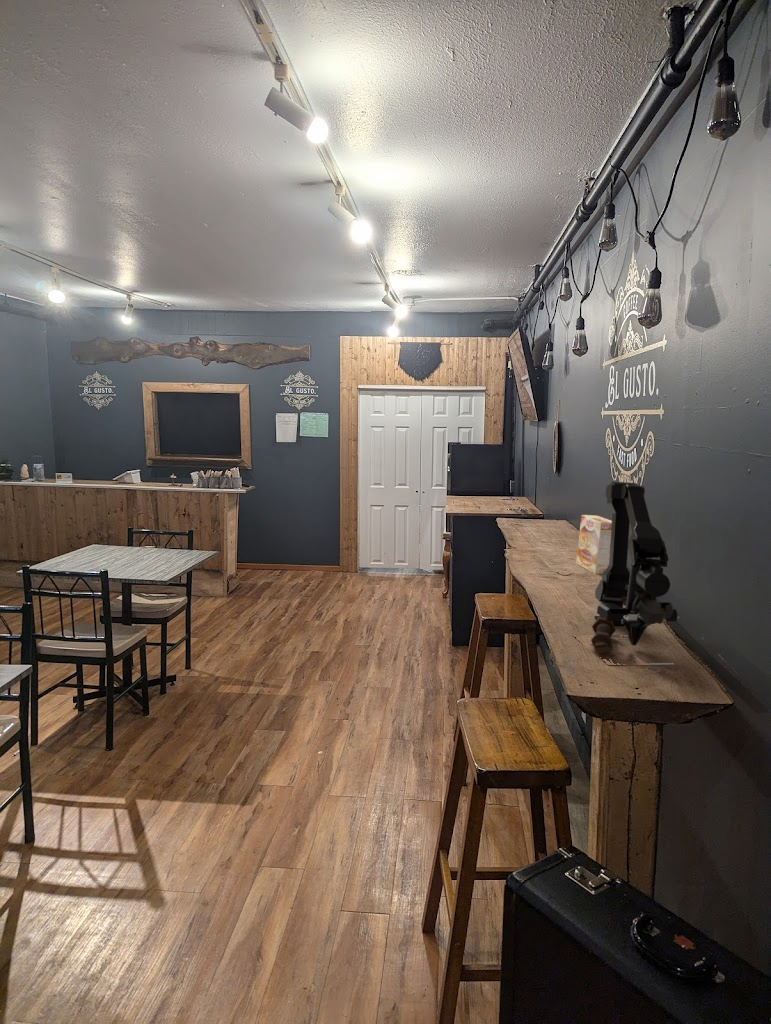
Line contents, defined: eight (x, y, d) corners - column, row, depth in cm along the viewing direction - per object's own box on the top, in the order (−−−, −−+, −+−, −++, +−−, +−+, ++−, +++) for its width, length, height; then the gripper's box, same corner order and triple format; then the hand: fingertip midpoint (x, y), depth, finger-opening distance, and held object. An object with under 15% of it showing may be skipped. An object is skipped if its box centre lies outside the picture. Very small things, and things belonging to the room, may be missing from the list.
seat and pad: (571, 635, 163) (571, 635, 163) (631, 635, 166) (631, 635, 166) (608, 665, 145) (608, 665, 145) (674, 664, 148) (674, 664, 148)
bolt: (595, 662, 151) (599, 639, 164) (616, 656, 149) (618, 634, 162) (585, 640, 151) (590, 619, 164) (606, 633, 149) (608, 613, 162)
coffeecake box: (575, 563, 243) (580, 514, 240) (592, 563, 245) (597, 515, 241) (594, 574, 229) (600, 522, 225) (612, 574, 230) (618, 522, 227)
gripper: (622, 594, 144) (614, 658, 146) (696, 595, 147) (687, 657, 149) (599, 580, 155) (592, 640, 157) (668, 581, 158) (660, 640, 160)
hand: (633, 644), depth 156 cm, fingers closed
